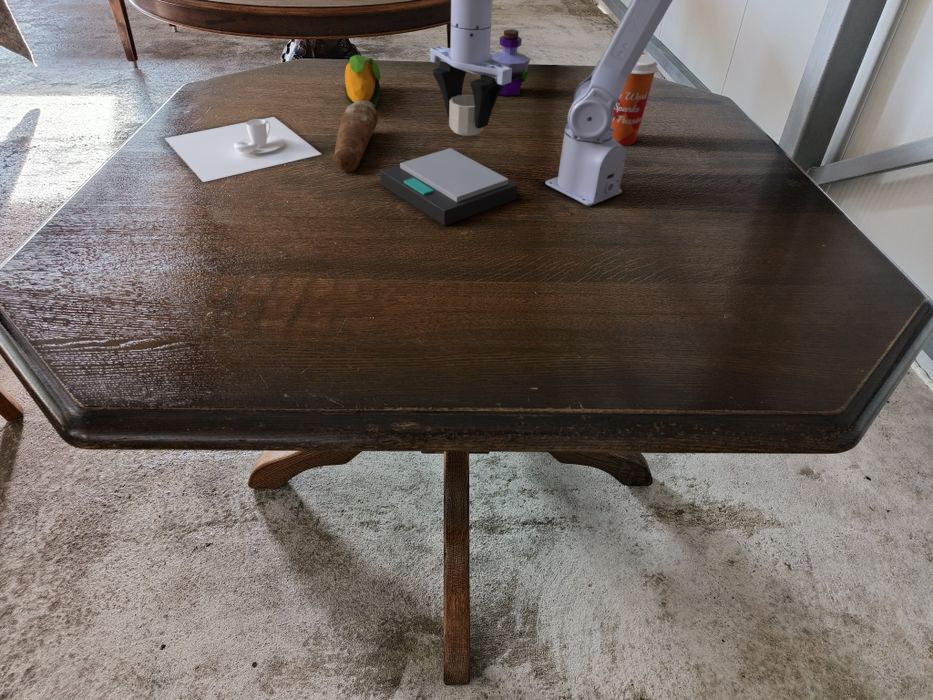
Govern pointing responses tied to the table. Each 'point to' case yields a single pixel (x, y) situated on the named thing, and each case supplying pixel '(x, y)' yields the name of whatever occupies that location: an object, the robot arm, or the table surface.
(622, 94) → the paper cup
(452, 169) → the scale
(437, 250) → the table surface
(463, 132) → the white faceted cup
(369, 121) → the brown yam
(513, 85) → the potion bottle
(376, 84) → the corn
